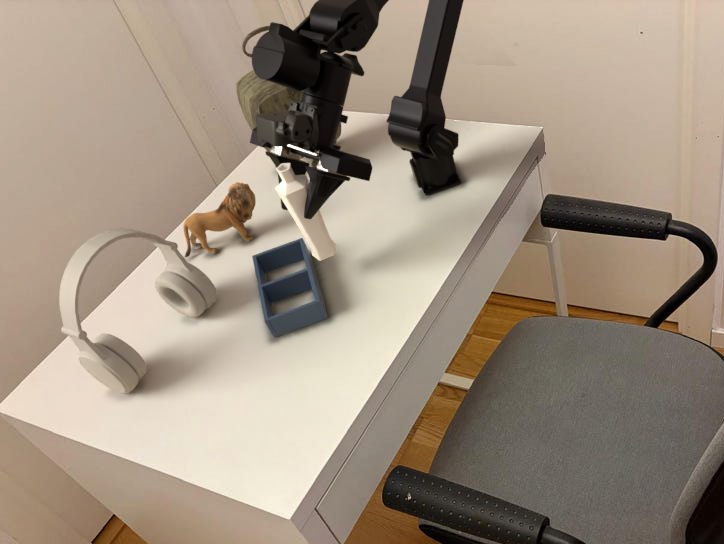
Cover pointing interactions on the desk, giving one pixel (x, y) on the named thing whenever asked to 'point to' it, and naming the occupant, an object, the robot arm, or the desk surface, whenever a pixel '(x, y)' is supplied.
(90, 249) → the headphones
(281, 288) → the box
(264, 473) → the desk surface
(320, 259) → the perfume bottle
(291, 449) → the desk surface
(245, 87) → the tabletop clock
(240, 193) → the lion figurine
